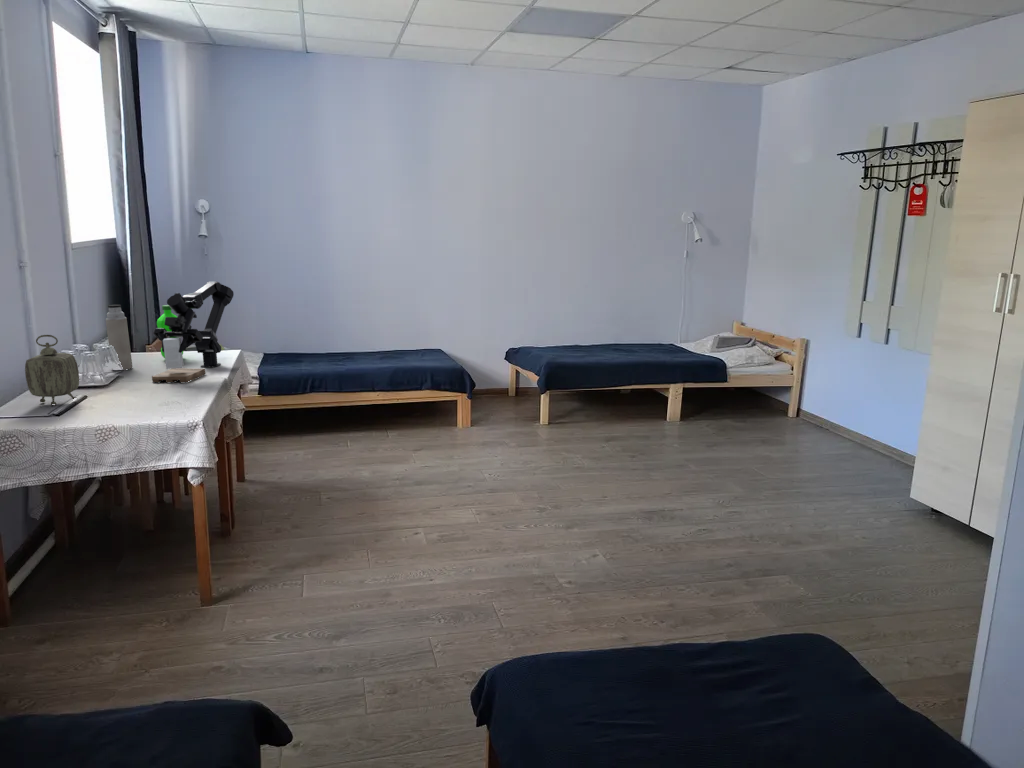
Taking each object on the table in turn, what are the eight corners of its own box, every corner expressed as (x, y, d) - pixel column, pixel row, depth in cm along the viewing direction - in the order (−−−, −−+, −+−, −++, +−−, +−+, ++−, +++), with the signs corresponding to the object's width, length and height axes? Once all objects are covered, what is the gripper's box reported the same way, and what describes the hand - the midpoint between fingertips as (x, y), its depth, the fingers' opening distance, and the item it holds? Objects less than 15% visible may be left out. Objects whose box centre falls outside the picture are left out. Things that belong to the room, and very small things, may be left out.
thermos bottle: (113, 367, 326) (105, 304, 320) (134, 366, 329) (126, 303, 322) (110, 371, 319) (102, 306, 312) (131, 370, 321) (123, 305, 315)
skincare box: (183, 366, 305) (180, 337, 303) (182, 368, 301) (178, 339, 299) (168, 366, 304) (164, 338, 301) (165, 369, 300) (162, 339, 297)
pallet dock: (173, 374, 313) (172, 368, 312) (205, 374, 312) (204, 368, 311) (152, 382, 297) (152, 376, 297) (186, 383, 296) (185, 376, 296)
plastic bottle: (157, 359, 344) (151, 305, 339) (180, 356, 351) (175, 303, 346) (164, 362, 337) (158, 307, 331) (188, 359, 344) (182, 305, 338)
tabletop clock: (82, 400, 270) (73, 332, 264) (72, 406, 261) (62, 336, 256) (39, 402, 268) (28, 333, 262) (27, 408, 259) (16, 337, 253)
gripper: (153, 308, 302) (139, 340, 294) (195, 309, 300) (182, 341, 292) (166, 324, 312) (154, 355, 304) (208, 325, 309) (196, 356, 301)
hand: (171, 352), depth 300 cm, fingers closed on skincare box, 7 cm apart
